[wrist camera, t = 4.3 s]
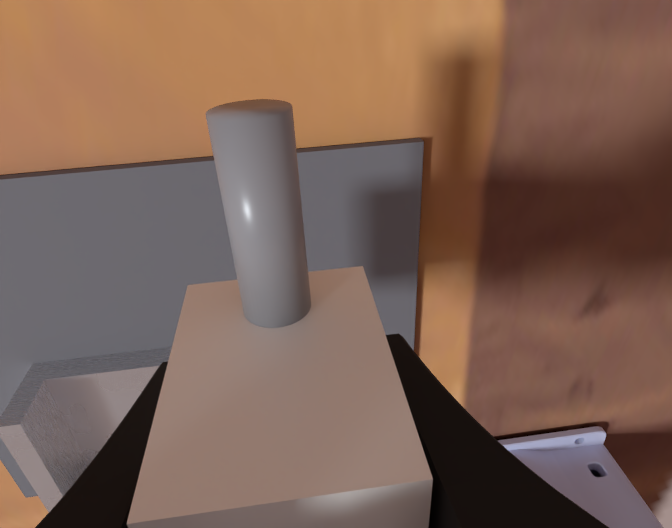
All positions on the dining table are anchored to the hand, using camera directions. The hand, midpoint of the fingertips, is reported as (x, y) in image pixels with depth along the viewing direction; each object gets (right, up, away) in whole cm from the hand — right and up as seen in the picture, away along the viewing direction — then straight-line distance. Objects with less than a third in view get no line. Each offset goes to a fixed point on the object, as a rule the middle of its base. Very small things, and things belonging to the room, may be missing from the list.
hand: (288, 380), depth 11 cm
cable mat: (-5, -1, +8) cm, 9 cm away
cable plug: (0, +2, 0) cm, 2 cm away
